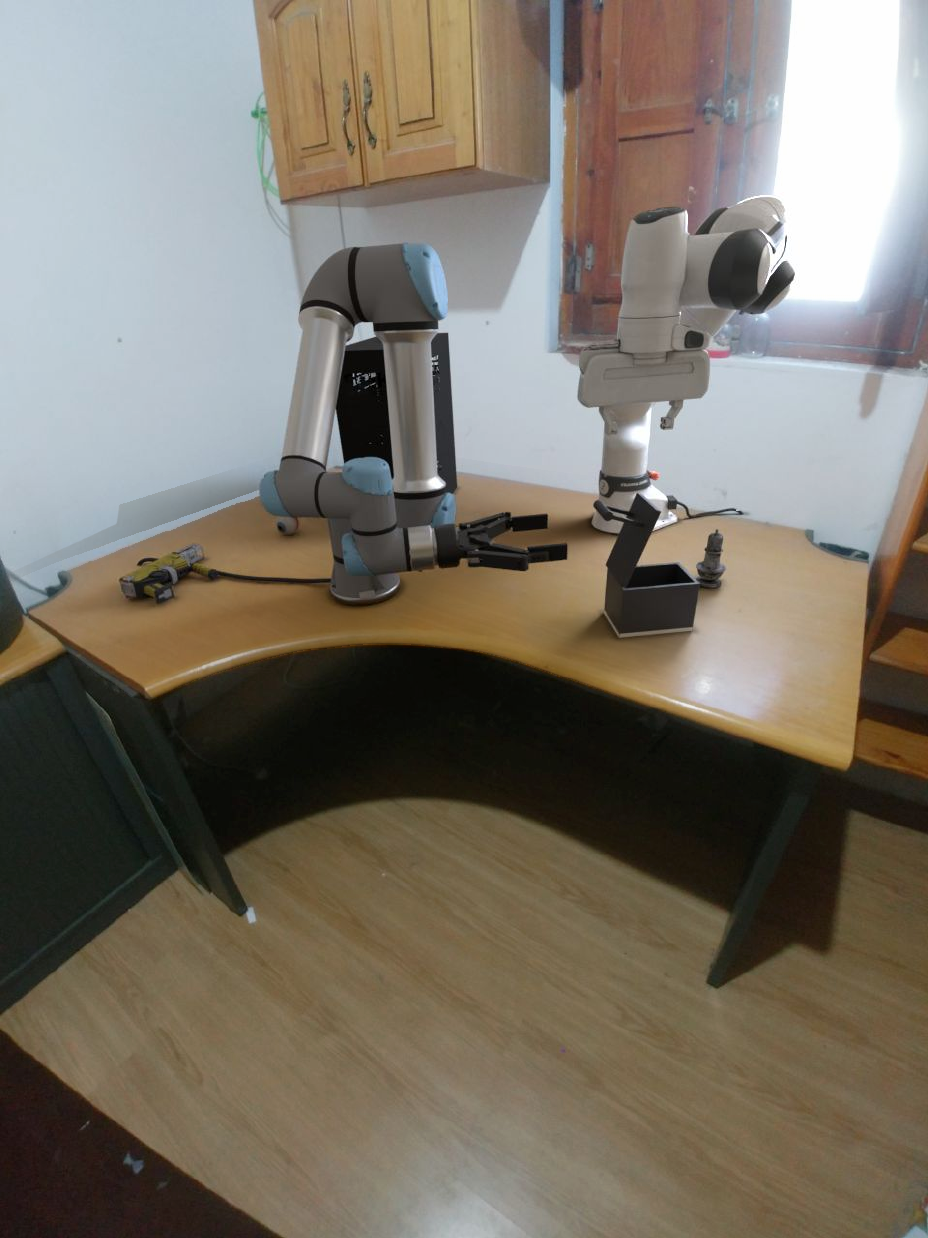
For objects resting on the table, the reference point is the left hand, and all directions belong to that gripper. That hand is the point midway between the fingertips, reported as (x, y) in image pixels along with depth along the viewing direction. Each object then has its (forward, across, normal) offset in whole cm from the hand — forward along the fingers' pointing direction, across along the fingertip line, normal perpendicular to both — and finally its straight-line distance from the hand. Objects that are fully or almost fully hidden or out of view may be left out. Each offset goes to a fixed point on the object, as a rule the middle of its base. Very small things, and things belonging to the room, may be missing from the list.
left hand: (556, 535), depth 105 cm
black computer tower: (-25, -78, -20) cm, 84 cm away
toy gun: (-79, -39, -20) cm, 90 cm away
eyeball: (-58, -63, -20) cm, 88 cm away
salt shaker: (+37, -13, -20) cm, 43 cm away
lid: (+14, 0, -2) cm, 14 cm away
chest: (+18, 0, -20) cm, 27 cm away
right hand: (+13, 0, +17) cm, 21 cm away
